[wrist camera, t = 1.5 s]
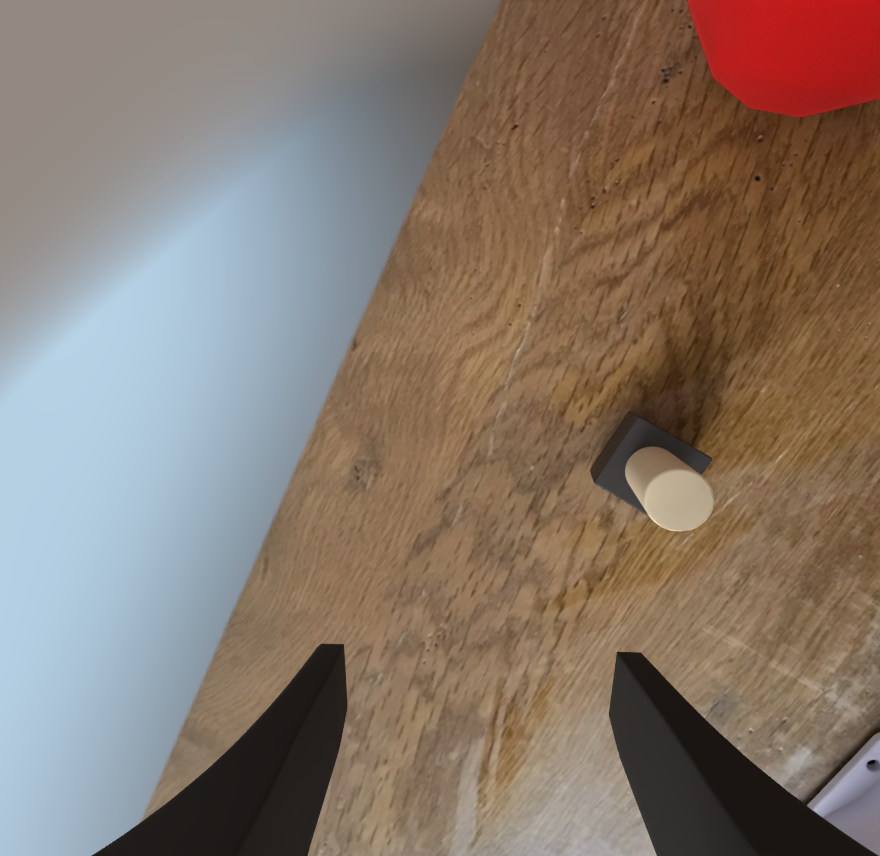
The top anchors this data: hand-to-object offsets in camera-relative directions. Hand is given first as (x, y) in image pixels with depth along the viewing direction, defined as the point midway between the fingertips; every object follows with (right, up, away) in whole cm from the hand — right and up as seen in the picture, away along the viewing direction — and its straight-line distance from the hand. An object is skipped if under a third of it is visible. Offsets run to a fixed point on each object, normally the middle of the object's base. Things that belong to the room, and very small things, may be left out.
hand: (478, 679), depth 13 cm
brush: (+8, +5, +9) cm, 13 cm away
